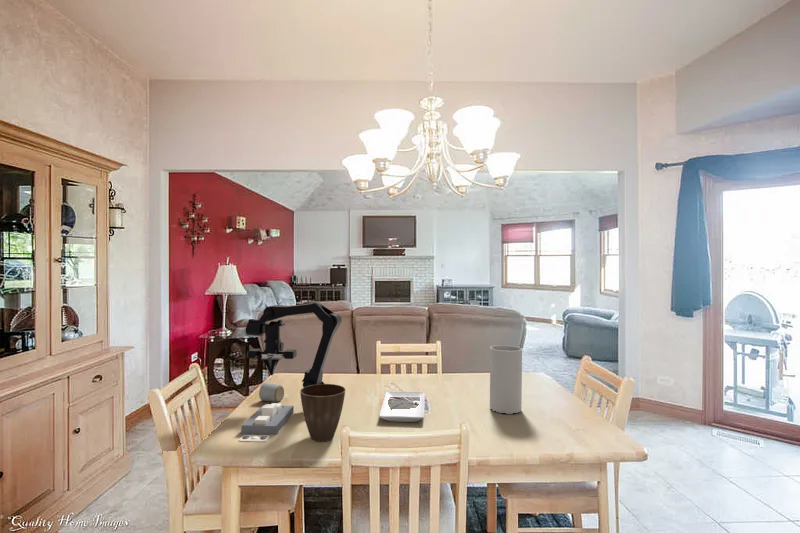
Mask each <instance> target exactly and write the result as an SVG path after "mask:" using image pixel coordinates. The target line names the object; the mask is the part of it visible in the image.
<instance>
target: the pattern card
mask: <svg viewBox="0 0 800 533" xmlns="http://www.w3.org/2000/svg"><path fill="white" fill-rule="evenodd" d="M271 436H272V435H254V434H242V436H241V437H240V438H239V439H238V440H237V441H238V442H245V441H253V443H258V442H259V443H267V441H268V440H269V439H270V437H271Z"/></svg>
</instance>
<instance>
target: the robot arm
mask: <svg viewBox="0 0 800 533" xmlns="http://www.w3.org/2000/svg"><path fill="white" fill-rule="evenodd" d="M311 313H313V314H314V315H315V316H316V317H317V319H318V320H319V321H320V322H321V323H322V327H321V330H322V335H321V338H320V342H319V344H318V348H317V350H316V353H315V356H314V360H313V363H312V366H311V368H308V369H307V370H306V371H304V376H303V379H302V380H301V383H302V388H304V387H306V386H310V385H316V384H325V383H324V381H323V378H324V377H323V375H324V373H323V371H324V370H323V369H324V365H325V362H326V359H327V357H328V353H329V350H330V348H331V343H332V340H333V338H334V336H335V334H336V333H337V331H338V329H339V327H340V326H341V324H342V321H343V320H342V317H341V315H340V314H339V313H338V312H337V313H336V312H333V310H331V309H330V308H328V307H326V306H325V305H324V304H322V303H321V302H313V303H305V304H297V305H290V306H289V305H279V304H274V305H270V306H266V307H264V310H263V313H262V315H261V316H260V317H259V319H256V318H249V319H248V322H247V323H246V327H245V335H246V336H249V337H251V336H252V337H262V336H264V340H263V343H264V350H262V349H261V348H252V349H249V350H248V351H247V353H246V358H247V359H255V358H256V357H258V356H259V357H260V356H261V358H260V361H263V363H264V364H265V366H266V368H267V370H268V373H269V374H270V376H273V375H274V373H275V370H276V368H277V365H278V364H279V361H280V360H282V359H283V358H284V359H285V360H293V359H295V358H296V357H297V355H298V354H297V350H296V349H295V348H293V349H292V348H291V349H288V348H287V349H286V350H284V347H285V346H284V345H285V343H284V342H282V341H281V337H280V336H281V327H283V326H286V323H285V322H284V321H283V320H282V319H281V318H284V317H287V316H297V315H302V314H303V315H305V314H311ZM268 322H269V323H268Z"/></svg>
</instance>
